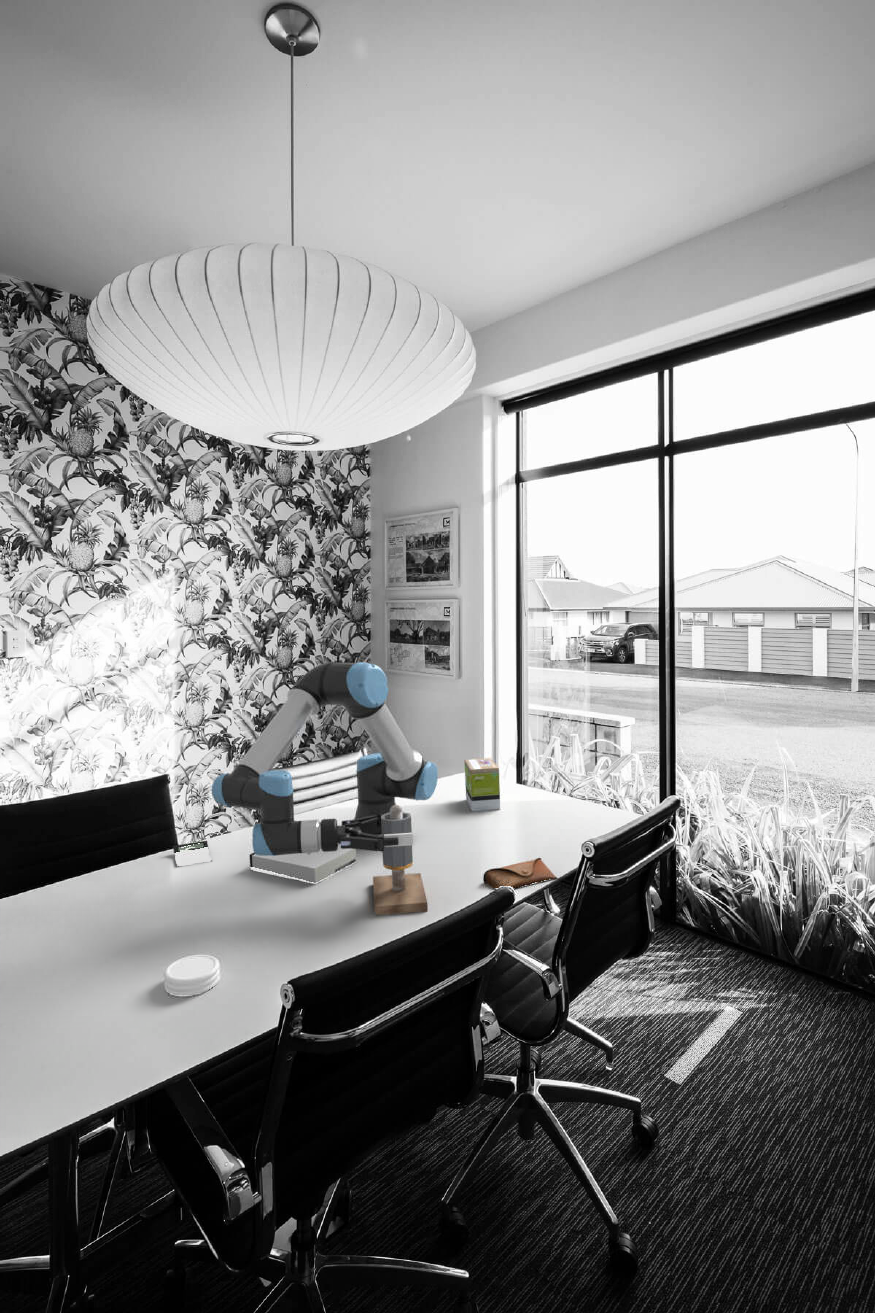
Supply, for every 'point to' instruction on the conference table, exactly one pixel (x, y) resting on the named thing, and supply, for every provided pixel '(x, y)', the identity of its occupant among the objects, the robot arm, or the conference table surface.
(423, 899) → the post stand
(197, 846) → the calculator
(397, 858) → the sleeve
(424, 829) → the conference table surface
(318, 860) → the disc drive
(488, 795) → the tea box
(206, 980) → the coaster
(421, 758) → the robot arm
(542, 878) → the sunglasses case
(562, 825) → the conference table surface
